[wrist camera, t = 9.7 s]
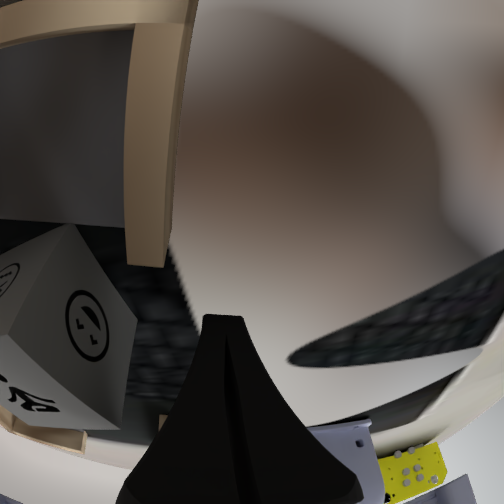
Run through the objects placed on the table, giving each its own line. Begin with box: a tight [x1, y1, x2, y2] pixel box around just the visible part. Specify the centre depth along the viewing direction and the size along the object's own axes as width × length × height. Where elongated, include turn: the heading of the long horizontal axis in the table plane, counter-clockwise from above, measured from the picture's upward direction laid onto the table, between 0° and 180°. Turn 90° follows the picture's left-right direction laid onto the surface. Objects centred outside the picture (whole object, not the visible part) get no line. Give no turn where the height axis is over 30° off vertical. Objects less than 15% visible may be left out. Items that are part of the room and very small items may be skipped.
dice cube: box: [0, 223, 138, 429], centre depth 9 cm, size 5×5×5 cm
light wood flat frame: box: [0, 0, 199, 454], centre depth 11 cm, size 16×28×2 cm, turn 170°
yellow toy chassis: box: [378, 442, 447, 504], centre depth 32 cm, size 16×6×8 cm, turn 76°
